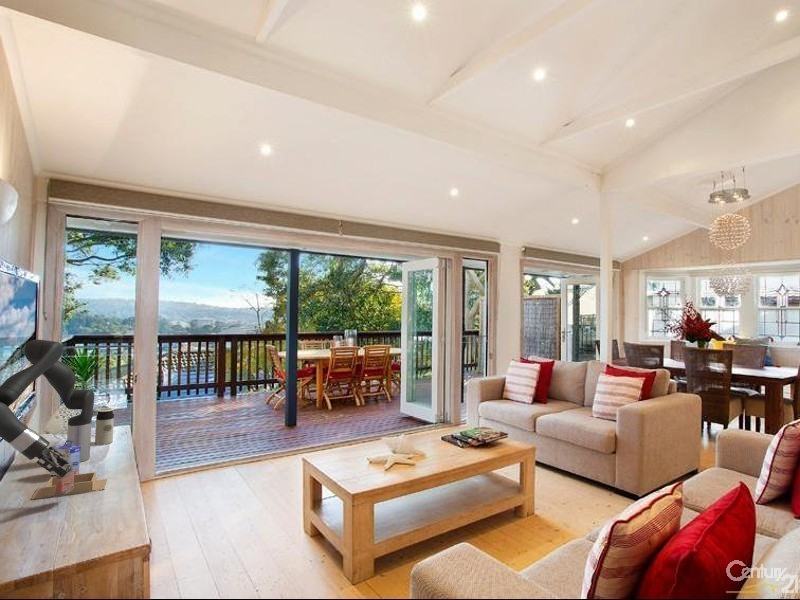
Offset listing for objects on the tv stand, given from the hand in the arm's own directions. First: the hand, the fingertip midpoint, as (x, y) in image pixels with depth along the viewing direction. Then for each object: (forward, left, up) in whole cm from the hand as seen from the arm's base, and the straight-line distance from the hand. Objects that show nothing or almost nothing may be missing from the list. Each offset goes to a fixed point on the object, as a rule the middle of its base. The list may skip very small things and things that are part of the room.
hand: (67, 471), depth 166 cm
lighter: (0, -1, -8) cm, 8 cm away
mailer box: (-16, 0, -12) cm, 20 cm away
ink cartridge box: (-34, -5, -12) cm, 36 cm away
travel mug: (-80, +5, -12) cm, 81 cm away
